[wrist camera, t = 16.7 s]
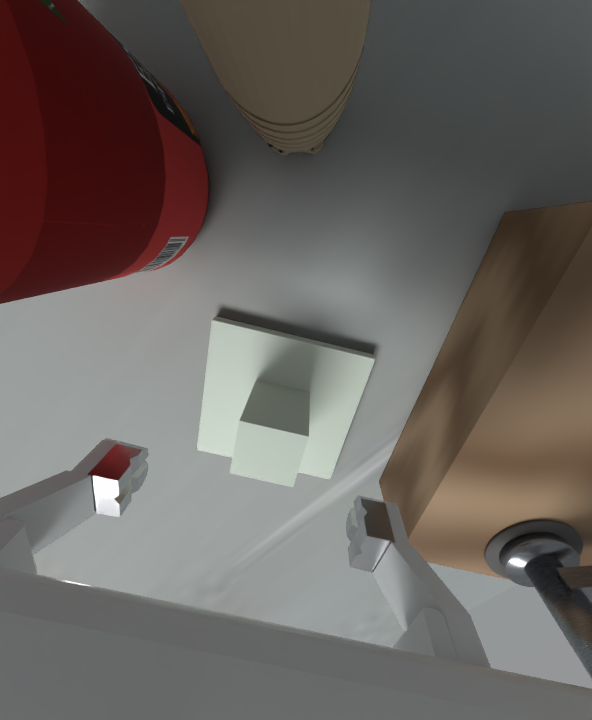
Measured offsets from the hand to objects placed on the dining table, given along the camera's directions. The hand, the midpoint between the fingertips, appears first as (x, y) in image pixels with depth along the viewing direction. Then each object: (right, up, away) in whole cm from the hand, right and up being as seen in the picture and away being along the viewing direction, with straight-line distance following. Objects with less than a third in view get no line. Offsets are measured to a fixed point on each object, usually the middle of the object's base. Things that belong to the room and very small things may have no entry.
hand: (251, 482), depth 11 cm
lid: (+1, +2, +7) cm, 8 cm away
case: (+15, +3, +6) cm, 16 cm away
